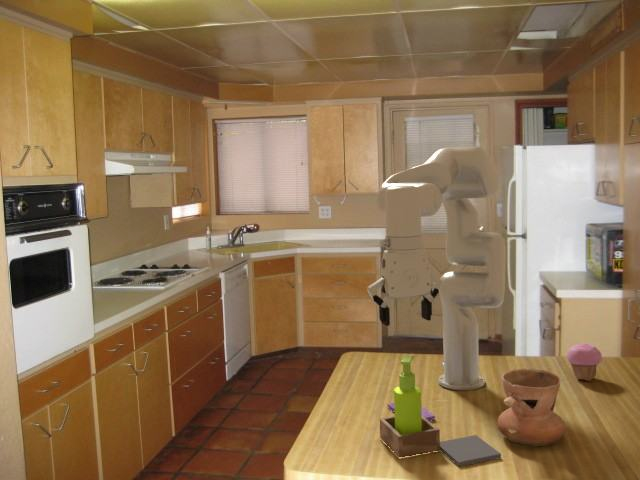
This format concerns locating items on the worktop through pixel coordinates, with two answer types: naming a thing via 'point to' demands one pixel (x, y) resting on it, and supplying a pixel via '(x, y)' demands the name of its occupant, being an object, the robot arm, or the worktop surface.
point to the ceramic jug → (531, 407)
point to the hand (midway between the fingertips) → (406, 321)
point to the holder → (410, 438)
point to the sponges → (424, 412)
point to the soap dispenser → (407, 401)
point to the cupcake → (584, 360)
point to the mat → (468, 450)
